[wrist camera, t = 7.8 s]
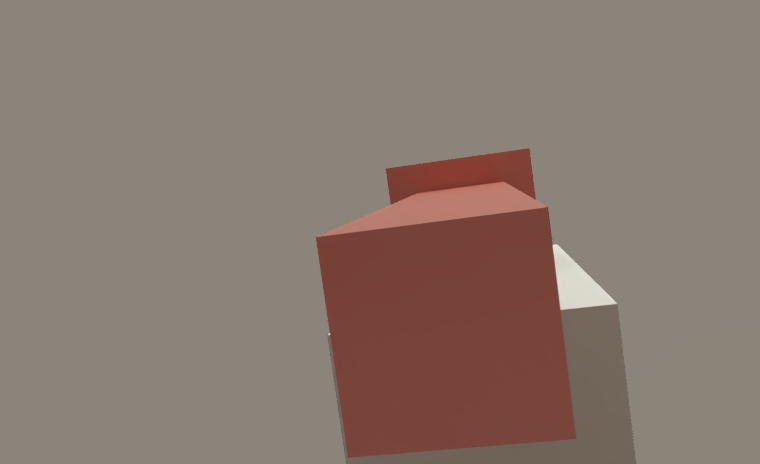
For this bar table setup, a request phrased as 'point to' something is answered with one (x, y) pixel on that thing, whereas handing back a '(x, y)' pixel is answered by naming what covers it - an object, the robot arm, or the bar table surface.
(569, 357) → the pedestal
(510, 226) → the red stepped block
